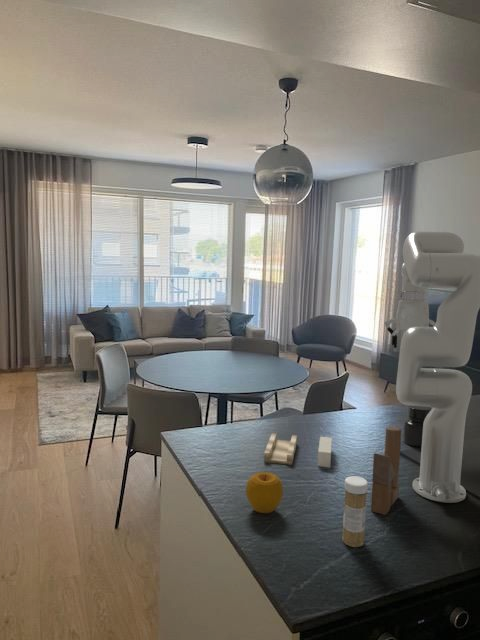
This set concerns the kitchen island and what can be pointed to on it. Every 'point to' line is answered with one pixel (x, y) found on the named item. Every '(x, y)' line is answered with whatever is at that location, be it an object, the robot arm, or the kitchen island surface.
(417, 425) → the ink bottle
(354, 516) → the sprinkles bottle
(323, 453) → the strip
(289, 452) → the rack
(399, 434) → the stepped wooden upright
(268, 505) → the apple
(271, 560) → the kitchen island surface
